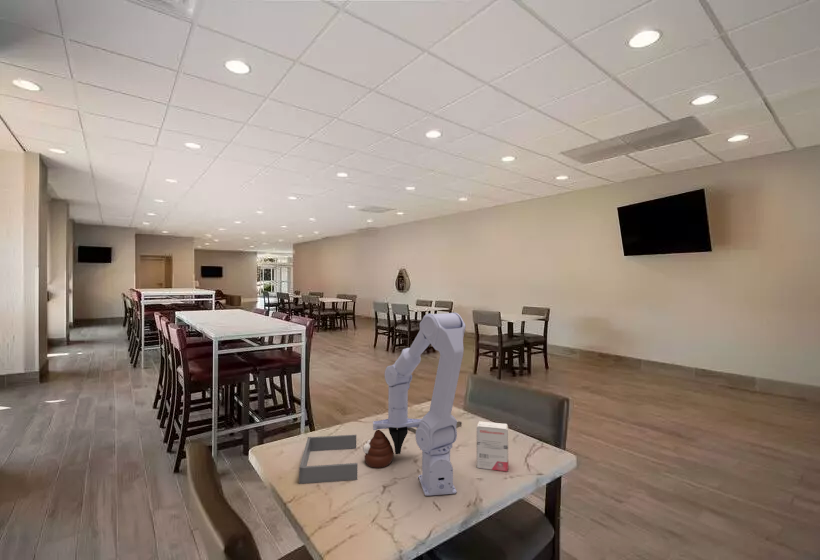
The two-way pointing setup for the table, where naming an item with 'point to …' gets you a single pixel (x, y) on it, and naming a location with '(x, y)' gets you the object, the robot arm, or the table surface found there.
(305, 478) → the bin
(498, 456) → the ink box
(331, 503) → the table surface
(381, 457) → the poop emoji
